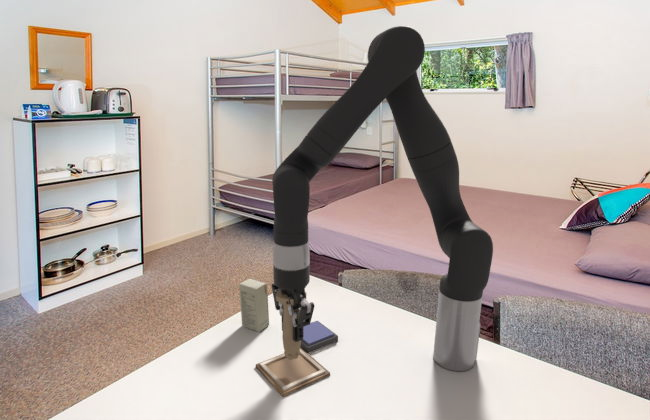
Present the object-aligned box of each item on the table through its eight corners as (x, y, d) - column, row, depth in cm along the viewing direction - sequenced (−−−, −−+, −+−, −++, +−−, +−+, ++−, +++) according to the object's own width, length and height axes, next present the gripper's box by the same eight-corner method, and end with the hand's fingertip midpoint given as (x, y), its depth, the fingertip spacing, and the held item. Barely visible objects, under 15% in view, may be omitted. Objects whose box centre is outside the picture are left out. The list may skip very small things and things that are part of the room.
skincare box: (269, 325, 113) (268, 283, 110) (258, 332, 110) (257, 289, 107) (251, 318, 117) (250, 277, 113) (240, 325, 113) (238, 283, 110)
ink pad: (317, 325, 114) (317, 318, 113) (338, 341, 106) (338, 334, 106) (288, 336, 108) (288, 329, 108) (308, 353, 101) (308, 345, 101)
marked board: (300, 349, 103) (300, 345, 103) (330, 375, 94) (330, 371, 93) (255, 366, 96) (255, 362, 96) (282, 396, 87) (282, 392, 87)
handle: (303, 364, 91) (302, 301, 87) (274, 360, 92) (272, 297, 88) (309, 351, 95) (308, 290, 91) (281, 347, 97) (280, 287, 93)
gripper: (326, 268, 85) (325, 345, 89) (289, 248, 96) (290, 316, 100) (294, 278, 80) (295, 357, 85) (259, 255, 91) (261, 326, 96)
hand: (292, 334), depth 93 cm, fingers closed on handle, 4 cm apart
